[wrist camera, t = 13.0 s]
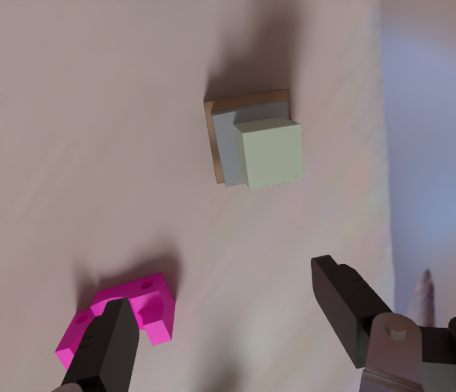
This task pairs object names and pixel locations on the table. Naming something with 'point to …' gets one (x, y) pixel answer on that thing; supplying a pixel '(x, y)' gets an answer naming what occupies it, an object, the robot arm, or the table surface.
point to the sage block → (269, 152)
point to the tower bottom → (231, 104)
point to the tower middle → (226, 133)
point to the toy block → (142, 307)
